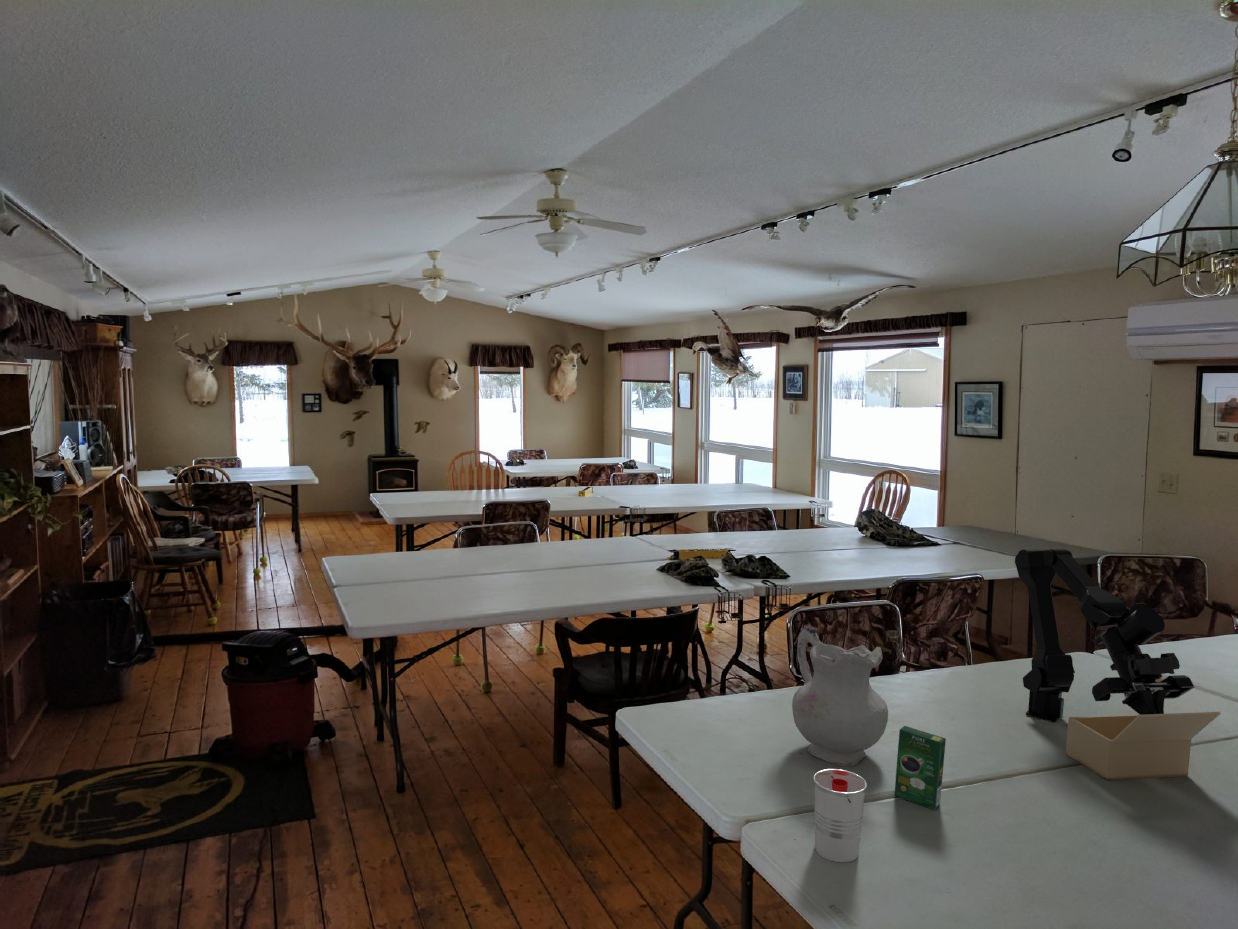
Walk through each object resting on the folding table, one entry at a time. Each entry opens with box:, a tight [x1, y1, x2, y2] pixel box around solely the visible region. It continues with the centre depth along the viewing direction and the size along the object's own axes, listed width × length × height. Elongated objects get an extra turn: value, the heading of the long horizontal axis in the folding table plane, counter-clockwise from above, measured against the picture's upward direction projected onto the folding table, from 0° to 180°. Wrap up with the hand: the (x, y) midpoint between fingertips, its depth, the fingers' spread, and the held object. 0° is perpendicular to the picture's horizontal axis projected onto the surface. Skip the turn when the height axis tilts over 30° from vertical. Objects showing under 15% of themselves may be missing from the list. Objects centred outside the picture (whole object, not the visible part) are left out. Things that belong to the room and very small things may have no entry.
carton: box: [1065, 713, 1192, 781], centre depth 173 cm, size 12×18×8 cm, turn 98°
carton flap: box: [1112, 711, 1221, 743], centre depth 164 cm, size 10×17×1 cm
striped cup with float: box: [812, 768, 868, 863], centre depth 138 cm, size 10×8×12 cm
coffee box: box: [893, 725, 947, 811], centre depth 156 cm, size 8×3×13 cm, turn 49°
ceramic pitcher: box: [791, 625, 889, 768], centre depth 176 cm, size 22×20×25 cm
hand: (1162, 730), depth 164 cm, fingers closed, pressing on carton flap
